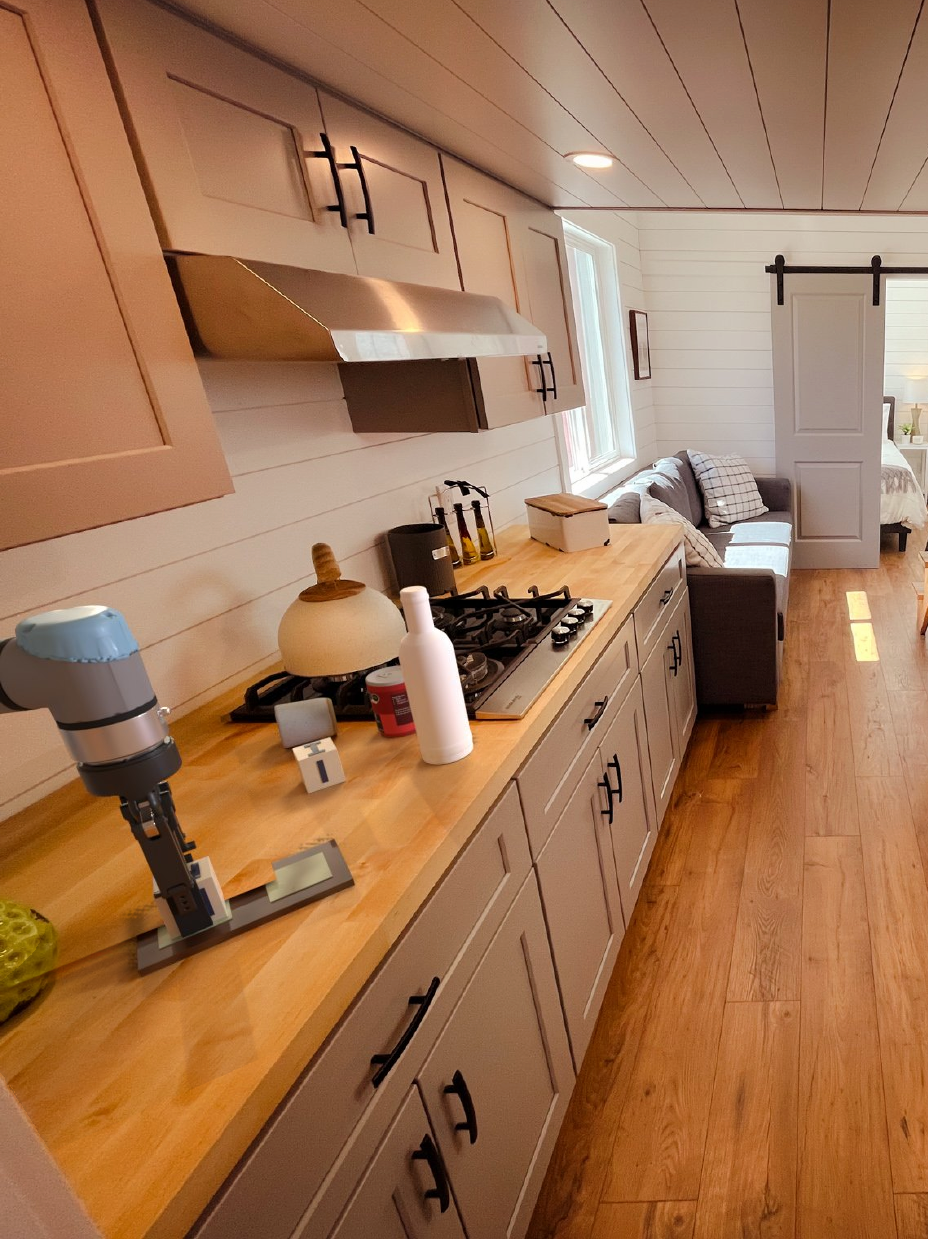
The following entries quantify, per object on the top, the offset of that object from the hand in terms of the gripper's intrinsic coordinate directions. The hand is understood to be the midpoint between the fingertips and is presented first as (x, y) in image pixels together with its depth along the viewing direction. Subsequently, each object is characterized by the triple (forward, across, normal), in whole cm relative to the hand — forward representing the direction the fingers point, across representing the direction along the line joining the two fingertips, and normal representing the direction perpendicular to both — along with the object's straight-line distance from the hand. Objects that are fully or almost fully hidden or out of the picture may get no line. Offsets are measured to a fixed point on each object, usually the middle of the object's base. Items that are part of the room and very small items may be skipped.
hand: (195, 915), depth 81 cm
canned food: (+2, +35, -31) cm, 47 cm away
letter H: (0, 0, 0) cm, 0 cm away
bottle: (+2, +20, -34) cm, 39 cm away
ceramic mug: (+1, +43, -18) cm, 47 cm away
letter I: (+1, +25, -17) cm, 30 cm away
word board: (+1, 0, -5) cm, 5 cm away
